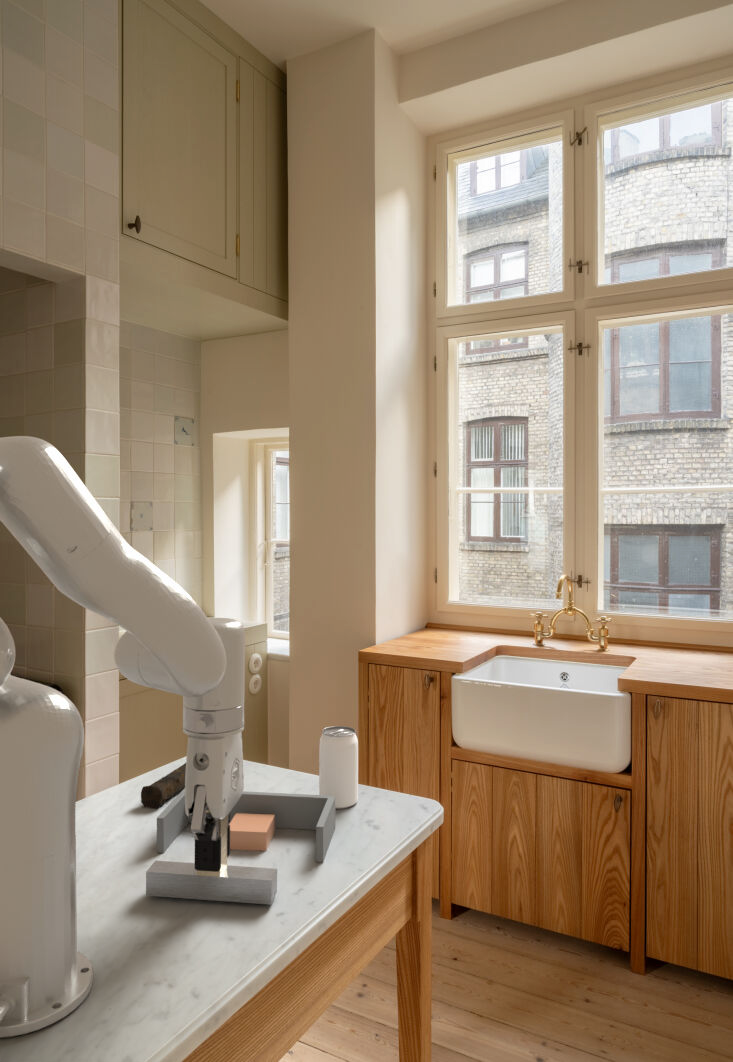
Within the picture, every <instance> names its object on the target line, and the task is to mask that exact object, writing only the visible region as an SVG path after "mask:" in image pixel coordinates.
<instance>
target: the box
mask: <svg viewBox="0 0 733 1062" xmlns="http://www.w3.org/2000/svg"><path fill="white" fill-rule="evenodd" d="M236 813H244V814H271V815H275V827H277V828H278V829H293V830H295V829H296V830H310V831H311V830H313V831H315V862H316V863H324V862H325V859H326V856H327V853H328V850H329V847H330V844H331V841H332V838H333V836H334V833H335V830H336V809H335V796H326V795H319V794H304V793H303V794H302V793H285V792H284V793H281V792H280V793H279V792H267V791H265V792H264V791H263V792H262V791H244V790H243V793H242V795H241V797H240V799H239V800H238V801H237V803H236V804H235V806H234V807H233V808H232V810H231V811H230V814H231V818H230V822H231V821H232V819H233V817H234V816H235V814H236ZM188 824H192V817H191V818H190V817H188V816H187V814H186V811H185V787H184V788H182V790H180V792H179V794H178V795H176V796H175V798H174V799H173V800H172V801H170V803H169V804H168V805H167V806H166V807H165V808H164V810H163V811H162V812H160V814H159V815H158V816H157V817H156V853H158V852H160V853H161V854H164V853H165V852H167V849H168V848H169V847H170V846H171V845H172V844H173V842H174V841H175V840H176V839H177V837H178V836H179V835H180V834H181V832H182V831H183V830H184V829H185V828H186V826H188ZM229 824H230V823H229ZM229 824H228V825H229ZM277 828H276V829H277ZM160 853H158V854H160Z"/></svg>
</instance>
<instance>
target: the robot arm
mask: <svg viewBox="0 0 733 1062" xmlns="http://www.w3.org/2000/svg"><path fill="white" fill-rule="evenodd" d="M0 522H1V523H3V526H4V527H5V528H6V529H7V530H8V531H9V533H10V534H11V535H12V537H14V539H16V541H17V542H18V543H19V545H21V546H22V548H23V549H24V550H25V551H26V553H27V554H28V555H29V556H30V557H31V559H32V560H33V561H34V562H35V563H36V565H37V566H38V568H40V570H41V571H42V572H43V574H45V576H46V577H47V578H48V579H49V581H50V582H51V584H53V585H54V587H55V588H56V590H58V591H59V592H60V593H61V594H63V595H64V596H65V597H67V598H68V599H70V600H72V601H73V602H74V603H76V604H78V605H79V606H81V607H83V608H85V609H87V610H89V611H91V612H93V613H95V614H97V615H99V616H101V617H103V618H106V619H107V620H109V621H111V622H112V623H114V624H116V625H117V626H118V627H120V628H122V629H124V631H125V632H124V633H123V634H122V635H121V636H120V637H119V639H118V641H117V643H116V645H115V649H114V662H115V663H114V664H115V666H116V668H117V670H118V672H119V673H120V674H121V675H122V676H123V677H125V678H126V680H128V681H130V682H132V683H133V684H137V685H138V686H143V687H147V688H151V689H155V690H160V691H163V692H167V693H172V694H175V695H179V696H182V699H183V700H182V701H183V702H182V704H183V706H182V708H183V709H182V732H183V733H184V734H185V735H187V736H188V738H187V748H186V761H185V763H186V773H185V787H184V788H185V811H186V814H187V816H188V817H190V818H191V817H192V823H190V824H191V825H190V831H191V833H194V835H193V840H194V863H195V869H196V870H198V871H212V872H218V871H219V870H220V869H221V838H218V836H219V819H224V818H225V817H226V816H227V815H228V824H229V823H230V818H231V814H230V811H231V810H232V808H233V807H234V806H235V804H236V803H237V801H238V800H239V799H240V797H241V795H242V793H243V791H244V790H245V789H244V788H245V787H244V785H245V783H244V781H245V780H244V753H243V752H244V751H243V750H244V749H243V736H242V732H243V731H244V730H245V691H246V690H245V687H246V686H245V684H246V683H245V678H246V677H245V676H246V675H245V674H246V672H245V670H246V669H245V668H246V666H245V665H246V663H245V662H246V632H245V627H244V625H243V624H242V622H240V621H239V620H236V619H234V618H227V617H207V615H206V614H205V612H204V610H202V608H201V607H200V605H199V604H198V603H197V602H196V600H194V599H193V597H192V596H191V595H190V594H189V593H188V592H187V591H186V590H185V589H183V587H181V585H179V584H178V583H177V582H176V581H175V580H174V579H172V578H171V577H170V576H168V575H167V574H166V573H164V572H163V571H162V570H161V569H160V568H159V567H157V566H156V565H155V564H154V563H153V562H152V561H150V560H149V559H148V557H146V556H144V555H143V554H142V553H140V552H139V551H138V550H136V549H135V548H134V547H133V546H131V545H130V544H129V542H127V540H126V539H125V538H124V536H122V534H121V533H120V532H119V530H118V529H117V527H116V526H115V524H114V523H113V522H112V520H110V518H109V517H108V515H107V514H106V513H105V511H104V510H103V508H102V507H101V505H100V504H99V503H98V502H97V500H96V498H95V497H94V496H93V495H92V492H91V491H90V490H89V488H88V487H87V486H86V485H85V483H84V482H83V481H82V479H81V478H80V476H79V475H78V473H77V472H76V471H75V470H74V468H73V467H72V466H71V464H70V463H69V462H68V461H67V459H66V457H64V455H63V454H62V453H61V452H60V451H59V450H58V448H57V447H55V446H54V445H53V444H51V443H50V442H48V441H46V440H45V439H42V438H39V437H35V436H29V435H16V436H15V435H13V436H4V437H0ZM14 640H15V639H14V637H13V635H12V634H11V631H10V629H9V627H8V625H7V624H6V623H5V621H4V620H3V618H2V617H1V616H0V1038H11V1037H16V1036H21V1035H26V1034H29V1033H33V1032H35V1031H36V1032H37V1031H39V1030H41V1029H44V1028H46V1027H49V1026H50V1025H52V1024H54V1023H56V1022H58V1021H60V1020H62V1019H63V1018H65V1017H66V1016H68V1015H69V1014H71V1013H72V1012H73V1011H75V1009H77V1008H78V1007H79V1006H80V1005H81V1004H82V1003H83V1002H84V1001H85V999H86V998H87V996H88V995H89V993H90V992H91V989H92V987H93V982H94V969H93V968H94V967H93V965H92V962H91V961H90V959H89V958H88V957H87V956H86V955H85V954H83V953H82V952H80V951H78V941H77V940H78V938H77V937H78V935H77V934H78V933H77V932H78V930H77V929H78V928H77V925H78V924H77V922H78V921H77V911H78V910H77V836H76V805H77V804H76V802H77V787H78V778H79V771H80V765H81V760H82V756H83V751H84V750H83V749H84V743H85V741H84V740H85V729H84V721H83V719H82V716H81V714H80V711H79V710H78V707H76V705H75V703H73V702H72V700H71V699H69V698H68V696H66V695H65V694H63V693H62V692H61V691H59V690H57V689H56V688H53V687H51V686H49V685H45V684H42V683H40V682H35V681H32V680H30V679H25V678H22V677H21V678H20V677H17V676H15V675H11V672H12V670H13V668H14V666H15V661H16V645H15V641H14ZM206 810H210V812H211V813H209V812H206ZM205 820H213V821H212V826H211V825H210V824H208V823H206V822H205ZM230 855H231V849H230V825H228V833H227V858H228V857H229V856H230Z"/></svg>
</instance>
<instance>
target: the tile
mask: <svg viewBox="0 0 733 1062" xmlns="http://www.w3.org/2000/svg"><path fill="white" fill-rule="evenodd" d="M229 825H230V850H236V851H237V850H240V851H257V852H258V851H259V850H261V852H267V851H268V849H267V848H269V847H270V844H271V842H272V840H273V838H274V836H275V833H276V828H275V815H271V814H244V813H236V814H235V816H234V817H233V819H232V821H231V822H230V824H229ZM273 835H274V836H273ZM271 839H272V840H271ZM264 850H265V851H264Z"/></svg>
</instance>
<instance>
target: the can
mask: <svg viewBox="0 0 733 1062" xmlns="http://www.w3.org/2000/svg"><path fill="white" fill-rule="evenodd" d="M356 732H357V730H356V729H355V728H354V727H349V726H347V725H346V726H345V725H344V726H343V725H334V726H328V727H325V728H323V729H322V730H321V733H322V734H321V736H320V739H319V752H318V753H319V755H318V757H319V758H318V759H319V762H318V764H319V765H318V767H319V769H318V772H319V773H318V777H319V778H318V785H319V786H318V789H319V790H318V792H319V793H318V795H326V796H335V810H343V809H349V808H351V807H353V806H355V805H356V804H357V802H358V801H359V739H358V736H357V735H356Z"/></svg>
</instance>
